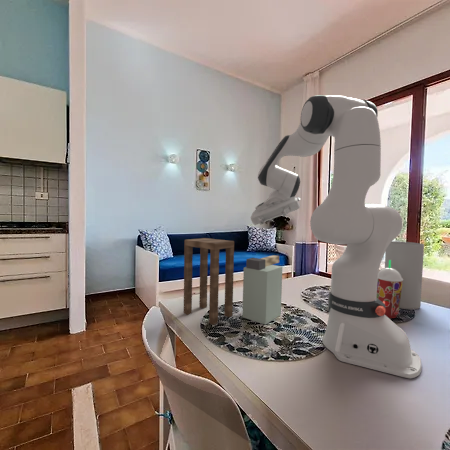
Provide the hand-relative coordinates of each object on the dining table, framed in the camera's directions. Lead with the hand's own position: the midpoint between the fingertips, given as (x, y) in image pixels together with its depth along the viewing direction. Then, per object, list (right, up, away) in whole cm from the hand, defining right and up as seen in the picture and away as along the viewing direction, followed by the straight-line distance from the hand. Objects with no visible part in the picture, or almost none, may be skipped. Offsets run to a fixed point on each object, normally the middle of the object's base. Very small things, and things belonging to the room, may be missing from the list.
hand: (272, 218), depth 99 cm
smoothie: (+40, -35, -6) cm, 54 cm away
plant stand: (-24, -34, -8) cm, 42 cm away
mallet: (-4, -17, -6) cm, 18 cm away
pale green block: (-5, -34, -9) cm, 36 cm away
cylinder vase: (+53, -35, +6) cm, 64 cm away
